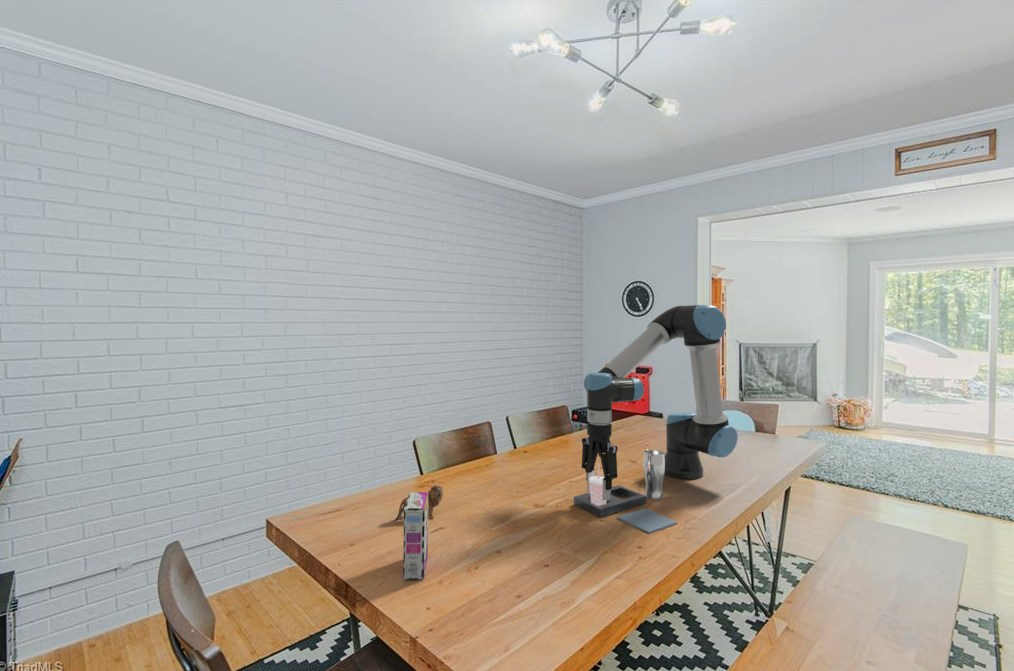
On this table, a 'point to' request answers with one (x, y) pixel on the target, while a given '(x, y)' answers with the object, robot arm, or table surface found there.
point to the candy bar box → (415, 536)
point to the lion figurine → (433, 501)
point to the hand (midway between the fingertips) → (598, 495)
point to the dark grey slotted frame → (611, 502)
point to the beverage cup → (596, 489)
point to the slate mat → (647, 520)
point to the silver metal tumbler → (654, 473)
